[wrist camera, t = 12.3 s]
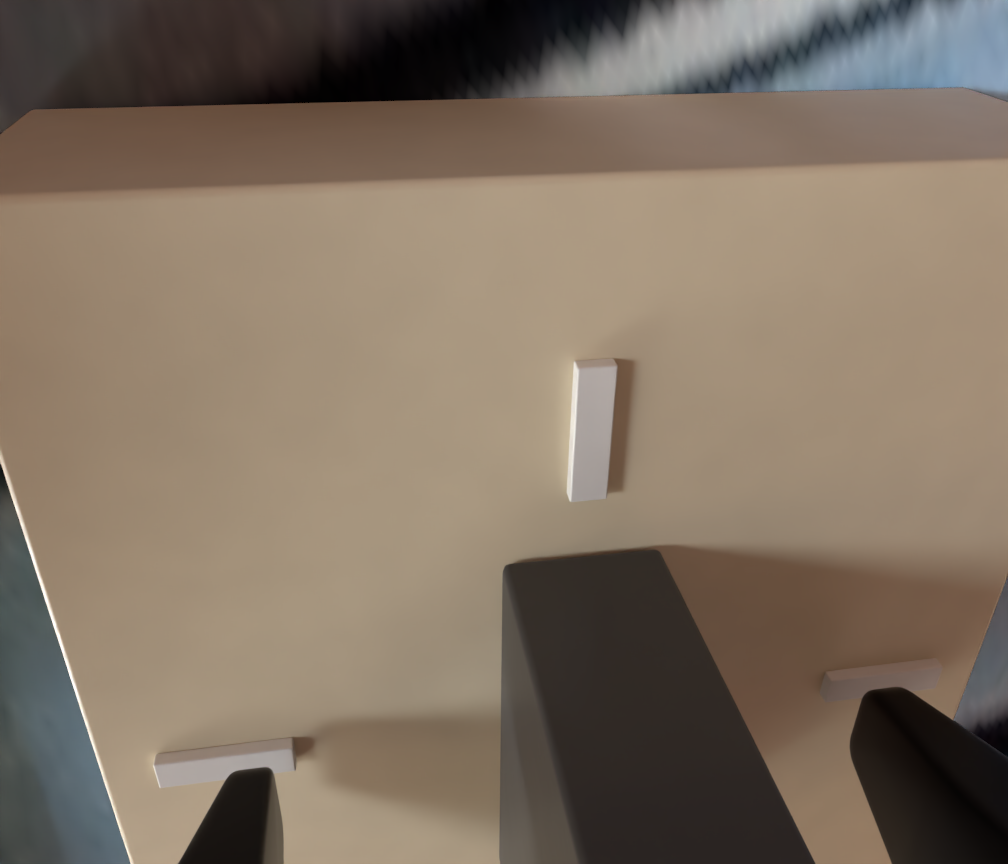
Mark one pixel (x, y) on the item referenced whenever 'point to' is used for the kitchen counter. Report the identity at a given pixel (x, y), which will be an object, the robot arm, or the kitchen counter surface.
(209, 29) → the kitchen counter surface
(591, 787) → the block with red tab
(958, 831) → the robot arm
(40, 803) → the kitchen counter surface
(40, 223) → the control panel
